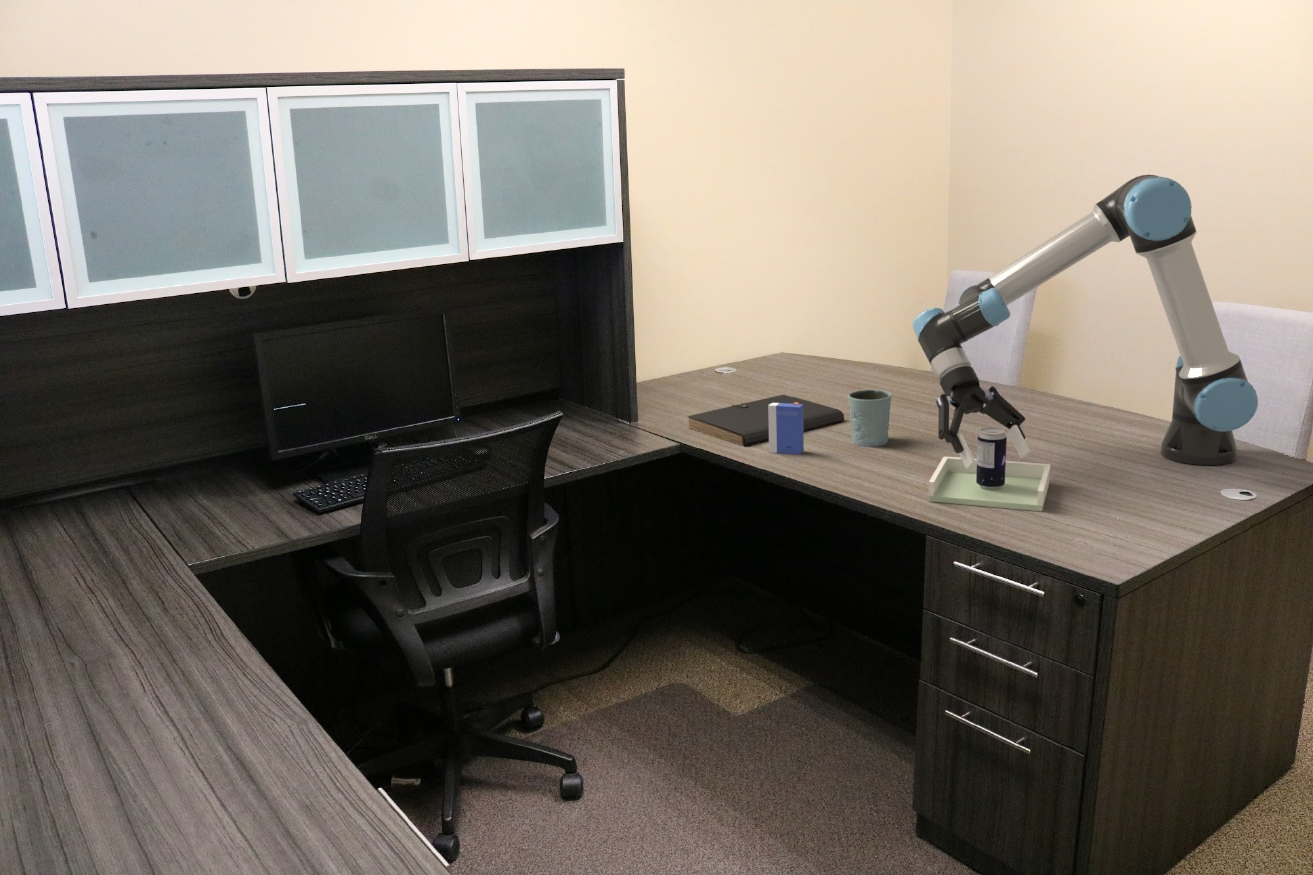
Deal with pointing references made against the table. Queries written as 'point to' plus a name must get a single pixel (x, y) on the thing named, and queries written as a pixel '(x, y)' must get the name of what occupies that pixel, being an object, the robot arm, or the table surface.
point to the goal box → (960, 487)
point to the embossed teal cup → (869, 417)
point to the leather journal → (758, 419)
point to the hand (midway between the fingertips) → (998, 460)
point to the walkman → (786, 428)
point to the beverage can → (991, 458)
